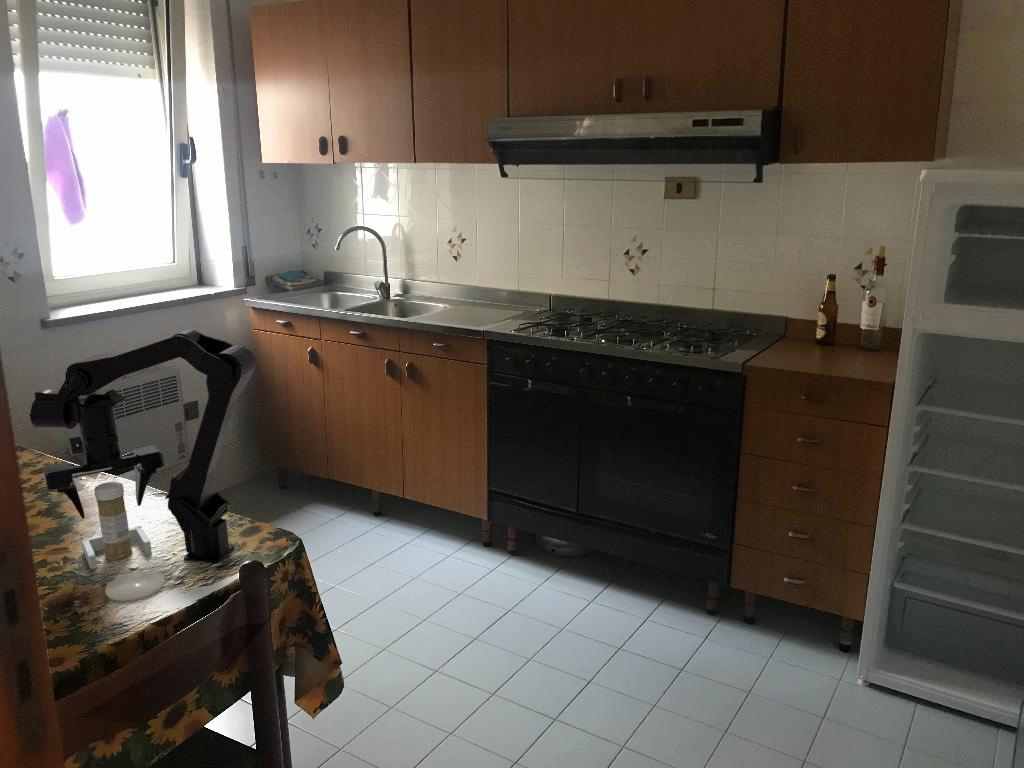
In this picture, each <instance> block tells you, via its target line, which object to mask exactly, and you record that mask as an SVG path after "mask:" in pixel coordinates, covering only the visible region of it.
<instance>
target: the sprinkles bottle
mask: <svg viewBox="0 0 1024 768" xmlns="http://www.w3.org/2000/svg"><path fill="white" fill-rule="evenodd" d="M93 490H94V497H95V500H96V502H97V508H98V517H99V518H98V519H99V524H100V531H101V535H102V538H103V542H104V548H105V549H104V556H105V559H107V560H109V561H114V560H117V561H118V560H123V559H125V558H127V557H129V556H130V555H132V553H133V548H132V544H131V543H130V534H129V521H128V514H127V509H126V505H125V498H124V493H125V490H124V485H123V483H121V482H119V481H108V482H104V483H101V484H98V485H97V486H95V488H94V489H93Z"/></svg>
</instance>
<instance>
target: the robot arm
mask: <svg viewBox="0 0 1024 768" xmlns="http://www.w3.org/2000/svg"><path fill="white" fill-rule="evenodd" d="M178 358H181V359H183V360H185V361H186V362H187V363H188V364H189V365H191V367H193V368H194V369H195V370H196V371H198V372H200V373H202V374H203V375H206V381H205V384H206V385H205V386H206V390H207V394H208V395H207V402H206V406H205V408H204V412H203V414H202V419H201V422H200V426H199V429H198V431H197V436H196V439H195V442H194V445H193V449H192V451H191V454H190V455H191V456H190V459H189V463H188V465H186V466H184V467H183V469H181V470H180V471H179V472H177V473H176V474H175V475H174V476H172V477H171V480H170V485H169V491H168V493H167V495H165V497H164V498H165V499H166V500H167V508H168V511H170V512H171V514H172V515H173V517H175V520H176V522H177V524H178V526H179V528H180V530H181V531H182V532H183V535H184V543H185V544H184V545H185V551H186V553H187V554H185V555H184V556H183V560H184V561H191V562H202V563H203V562H204V563H215V564H216V563H218V562H220V560H221V559H222V558H224V557H225V556H226V555H227V554H228V553H229V552H230V551H231V550H233V549H234V548H235V546H234V544H233V543H229V542H230V541H229V536H228V535H229V533H228V526H227V519H225V518H223V517H224V516H225V515H226V514H227V513H228V512H229V508H230V504H231V503H230V502H229V500H227V499H226V498H225V497H224V496H222V495H221V494H220V493H219V492H218V491H217V485H218V484H217V481H218V480H217V475H216V466H217V463H218V459H219V456H220V454H221V450H222V447H223V444H224V441H225V437H226V434H227V430H228V428H229V424H230V420H231V418H232V414H233V410H234V408H235V404H236V401H237V399H238V397H239V396H240V394H241V393H242V392H243V390H244V388H245V387H246V386H247V384H248V382H249V380H250V379H251V377H252V375H253V373H254V371H255V369H256V366H257V358H256V357H255V356H254V354H253V352H252V351H251V350H250V349H249V348H247V347H245V346H243V345H239V344H238V345H234V344H233V343H230V342H228V341H226V340H224V339H223V340H222V339H220V338H216V337H211V336H209V335H205V334H203V333H202V332H199V331H198V330H195V329H190V328H187V329H184V330H182V331H180V332H178V333H176V334H174V335H171V336H168V337H165V338H162V339H159V340H156V341H153V342H150V343H147V344H143V345H141V346H139V347H135V348H133V349H130V350H126V351H122V352H108V353H107V352H106V353H99V354H93V355H91V356H87V357H86V358H83V359H81V360H79V361H76V362H73V363H71V364H70V365H69V366H67V367H66V371H65V380H64V381H63V383H62V386H61V387H60V389H59V390H51V389H40V390H38V391H35V392H34V397H35V399H34V400H33V401H32V404H31V407H30V408H31V409H30V413H29V419H30V422H31V424H32V426H33V427H34V428H36V429H38V430H72V429H75V427H77V425H78V424H79V430H80V432H79V433H80V436H79V435H78V436H72V437H69V438H68V445H69V450H70V454H71V456H78V455H81V456H82V461H83V463H84V462H85V464H79V465H76V466H70V465H69V463H68V461H63V462H59V463H52V464H47V465H44V467H43V468H42V475H43V480H44V484H45V487H46V488H47V491H54V490H55V491H56V493H57V494H62V493H64V494H65V495H66V496H67V498H68V499H69V500H70V501H71V502H72V504H73V505H74V507H75V509H76V511H77V513H78V514H79V516H80V518H81V519H83V520H84V519H85V511H84V508H83V504H82V501H81V498H80V495H79V493H78V489H77V486H76V484H75V482H74V478H78V477H79V478H81V477H84V476H85V477H86V476H89V475H90V476H91V475H95V474H99V473H105V472H110V471H114V470H120V469H126V468H129V467H133V468H134V475H135V499H136V500H135V501H136V504H137V506H138V507H140V506H142V502H143V499H144V497H145V496H144V495H145V492H146V488H147V486H148V484H149V481H150V479H151V477H152V475H154V474H156V473H158V469H160V468H164V467H165V461H164V455H163V453H162V451H161V450H160V449H159V448H158V447H157V446H155V444H153V445H148V446H142V447H141V446H140V447H136V448H133V454H131V455H127V456H126V455H125V456H122V453H121V447H120V440H119V439H120V438H119V434H118V433H119V432H118V427H117V419H116V413H115V406H117V405H120V404H121V403H123V402H125V401H126V397H125V396H124V395H122V394H120V393H118V392H117V391H116V389H110V390H107V391H105V393H96V392H97V391H99V390H102V389H104V388H106V387H107V386H109V385H111V384H114V383H115V382H116V381H119V380H120V379H122V378H124V377H125V376H127V375H129V374H132V373H136V372H139V371H143V370H144V369H147V368H150V367H151V368H152V367H154V366H157V365H159V364H163V363H166V362H169V361H173V360H176V359H178ZM81 396H83V397H81ZM84 396H87V397H84Z"/></svg>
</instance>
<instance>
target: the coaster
mask: <svg viewBox="0 0 1024 768" xmlns="http://www.w3.org/2000/svg"><path fill="white" fill-rule="evenodd" d="M165 580H166V579H165V575H164V574H163V573H161V572H160V571H156V570H137V571H132V572H129V573H125V574H123V575H120V576H118V577H115V578H114V579H112V580H110V582H109V583H107V585H106V586H105V588H104V589H105V597H106V598H107V599H108V600H109V601H113V602H117V603H130V602H137V601H140V600H144V599H147V598H149V597H152V596H153V595H156V594H158V593H159V592H160V591H161V590H162V589H163V588H164V586H165V585H166V581H165Z"/></svg>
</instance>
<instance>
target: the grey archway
mask: <svg viewBox="0 0 1024 768" xmlns="http://www.w3.org/2000/svg"><path fill="white" fill-rule="evenodd" d="M129 534H130V544H132V543H137V542H138V544H139V545H140V548H141V550H142V551H143V553H144V554H145V556H149V555H152V554H153V553H152V544H151V540H150V539H149V537H148V535H147V533H146V532H145V531H144V529H143V528H142V525H138V526H133V527H130V528H129ZM81 545H82V551H83V554H84V556H85V559H86V561H87V563H88V566H89V568H90V570H95V569H98V563H97V557H96V554H95V553H96V552H100V551H103V550H104V551H105V548H104V542H103V538H102V534H100V535H96V536H92V537H88V538H83V539H81Z"/></svg>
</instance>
